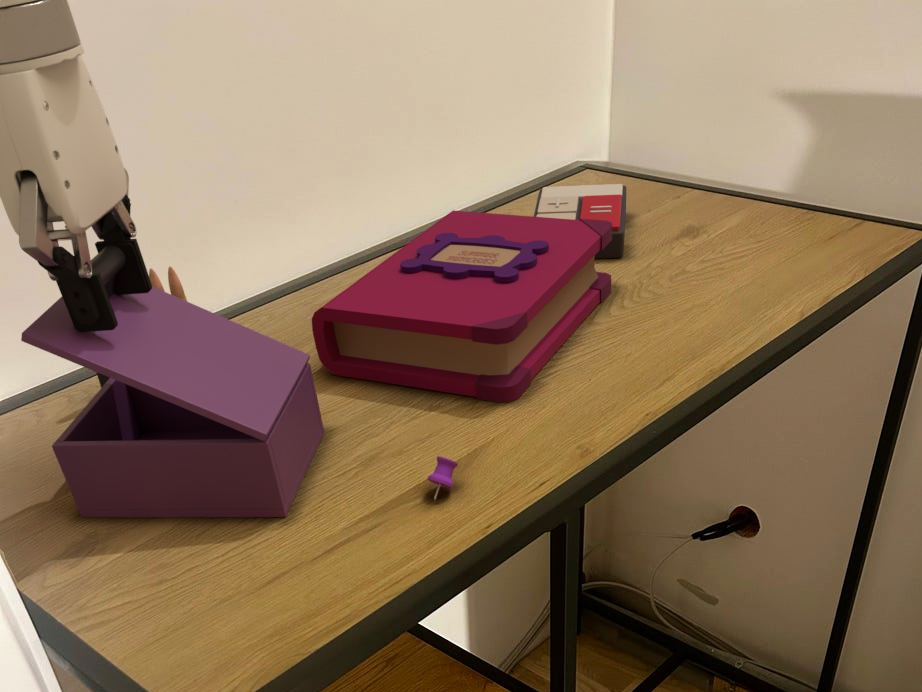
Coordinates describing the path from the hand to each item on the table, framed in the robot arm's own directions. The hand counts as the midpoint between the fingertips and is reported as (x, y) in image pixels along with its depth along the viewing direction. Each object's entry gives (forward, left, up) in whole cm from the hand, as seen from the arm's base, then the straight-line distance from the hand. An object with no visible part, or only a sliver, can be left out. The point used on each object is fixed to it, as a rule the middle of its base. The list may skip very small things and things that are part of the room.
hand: (115, 308), depth 73 cm
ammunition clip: (-7, +15, -15) cm, 22 cm away
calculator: (+33, +54, -15) cm, 65 cm away
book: (+23, +28, -15) cm, 39 cm away
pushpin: (+24, -3, -15) cm, 29 cm away
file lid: (+4, 0, -4) cm, 5 cm away
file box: (+3, 0, -15) cm, 15 cm away
